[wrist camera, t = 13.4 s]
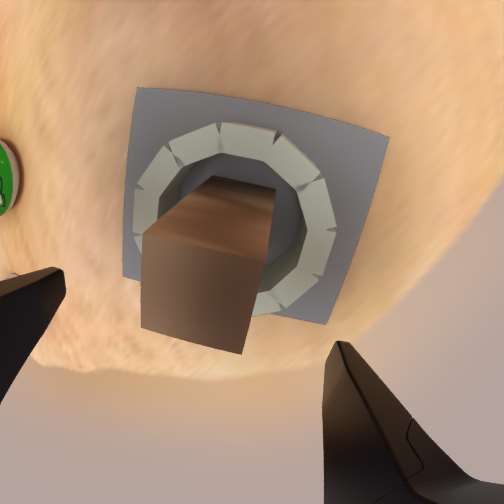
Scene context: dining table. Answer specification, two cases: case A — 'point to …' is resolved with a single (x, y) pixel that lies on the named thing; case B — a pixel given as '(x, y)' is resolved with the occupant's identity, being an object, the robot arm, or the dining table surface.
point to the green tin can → (8, 178)
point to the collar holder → (261, 173)
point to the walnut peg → (207, 263)
